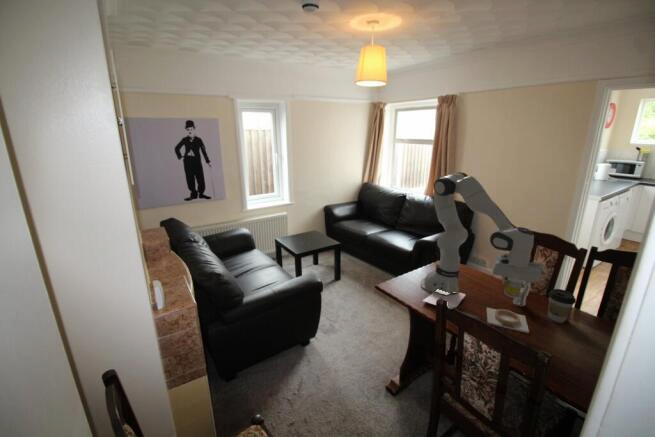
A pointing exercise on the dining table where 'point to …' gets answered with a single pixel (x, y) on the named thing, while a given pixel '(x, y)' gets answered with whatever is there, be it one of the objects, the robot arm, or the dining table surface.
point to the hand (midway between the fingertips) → (513, 285)
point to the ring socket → (507, 319)
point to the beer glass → (522, 295)
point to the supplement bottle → (513, 286)
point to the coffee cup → (560, 304)
